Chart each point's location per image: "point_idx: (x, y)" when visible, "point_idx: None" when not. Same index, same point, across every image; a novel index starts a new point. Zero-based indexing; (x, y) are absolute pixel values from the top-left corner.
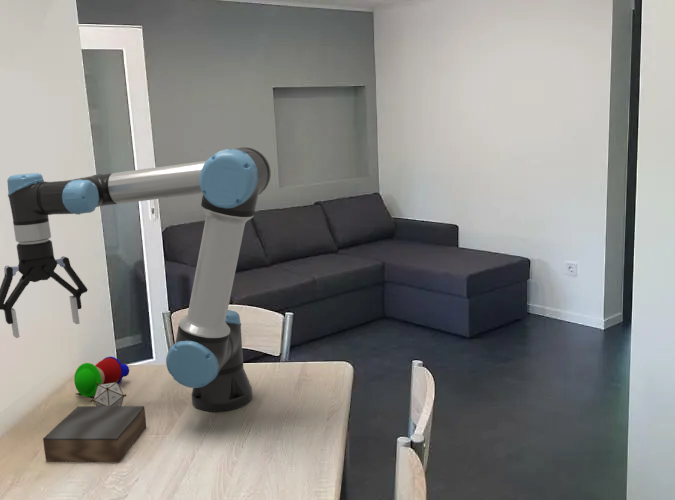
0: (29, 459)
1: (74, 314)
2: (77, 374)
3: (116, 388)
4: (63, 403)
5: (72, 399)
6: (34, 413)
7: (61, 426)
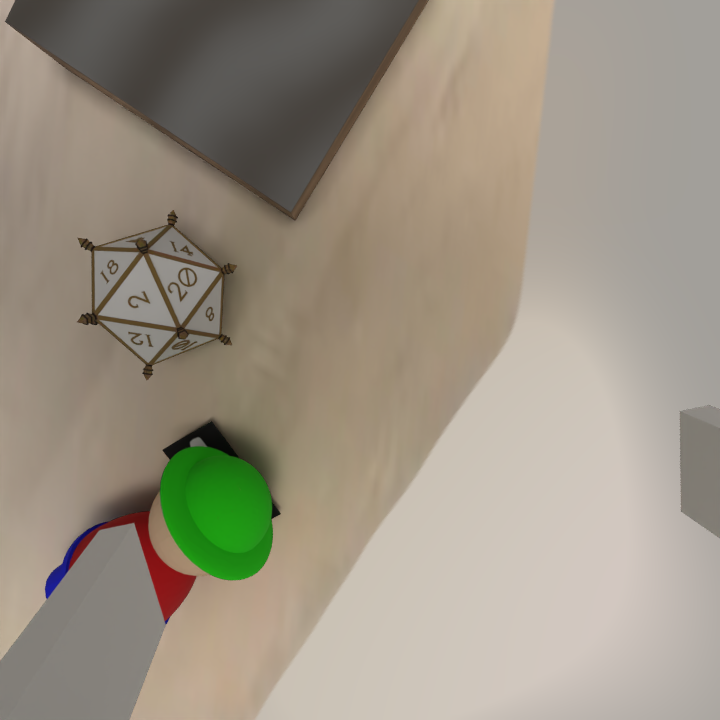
0: (476, 56)
1: (96, 626)
2: (254, 526)
3: (106, 276)
4: (323, 469)
5: (291, 489)
6: (419, 434)
7: (375, 21)
